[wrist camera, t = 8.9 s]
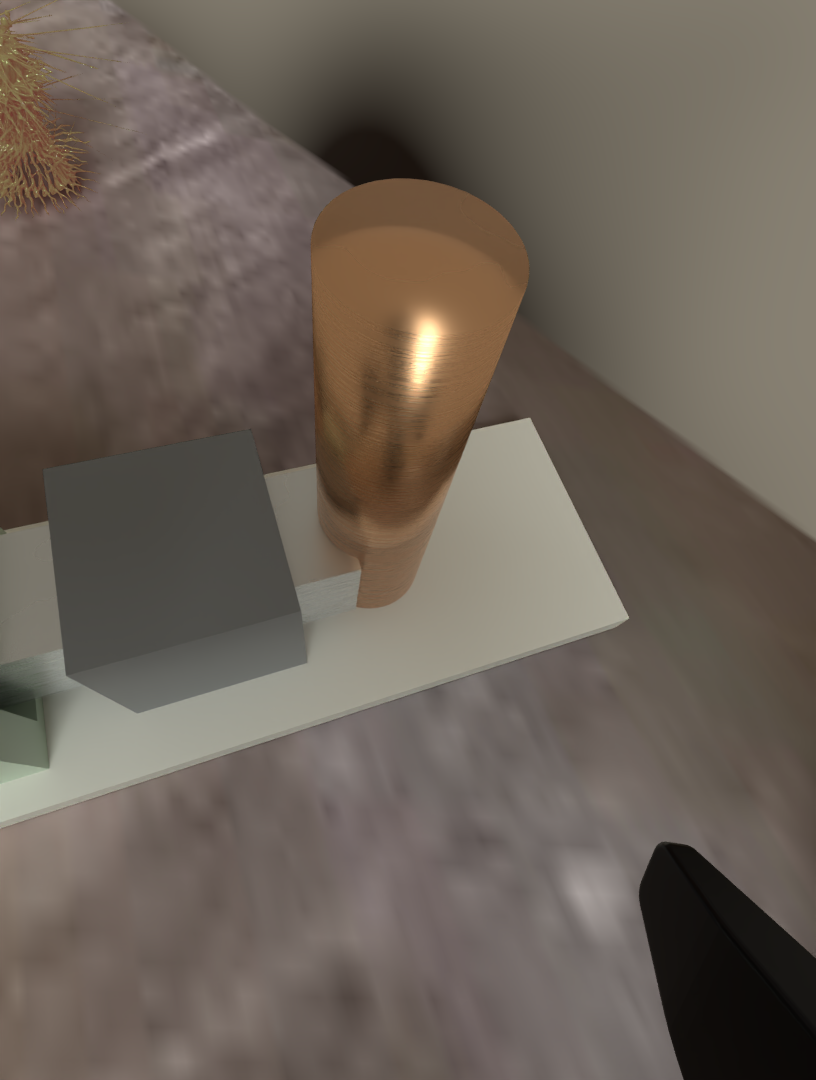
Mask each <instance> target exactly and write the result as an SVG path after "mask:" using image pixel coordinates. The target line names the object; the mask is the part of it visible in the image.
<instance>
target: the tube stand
mask: <svg viewBox="0 0 816 1080" xmlns="http://www.w3.org/2000/svg"><path fill="white" fill-rule="evenodd" d="M314 467H316V464H311V465H307V466H302V467H297V468H293V469H288V470H283V471H279V472H274V473H269V474H265V475H264V474H263V471H262V467H261V464H260V460H259V456H258V453H257V449H256V445H255V442H254V438H253V435H252V431H251V429H248V430H243V431H238V432H232V433H227V434H222V435H217V436H212V437H207V438H201V439H196V440H191V441H186V442H181V443H176V444H170V445H165V446H160V447H155V448H150V449H145V450H139V451H134V452H129V453H124V454H119V455H114V456H109V457H103V458H98V459H93V460H88V461H83V462H78V463H72V464H67V465H62V466H57V467H52V468H47V469H43V477H44V486H45V495H46V504H47V513H48V521H45V522H40V523H36V524H31V525H26V526H22V527H17V528H12V529H7V530H4V531H5V532H6V533H12V532H17V531H21V530H26V529H31V528H35V527H40V526H45V525H49V531H50V540H51V549H52V557H53V566H54V575H55V584H56V593H57V602H58V611H59V620H60V629H61V637H62V646H63V655H64V664H65V673H66V676H67V677H69V678H71V679H73V680H75V681H76V682H78V683H80V684H82V685H84V686H80V687H77V688H73V689H70V690H66V691H62V692H59V693H55V694H52V695H48V696H45V697H42V698H43V709H44V719H45V729H46V740H47V750H48V761H49V769H47V770H44V771H41V772H38V773H34V774H31V775H28V776H25V777H21V778H18V779H15V780H12V781H9V782H5V783H2V784H0V828H3V827H6V826H9V825H12V824H16V823H19V822H22V821H25V820H28V819H31V818H34V817H37V816H40V815H43V814H46V813H49V812H52V811H55V810H58V809H61V808H65V807H68V806H71V805H74V804H77V803H80V802H83V801H86V800H89V799H92V798H95V797H98V796H101V795H104V794H107V793H110V792H113V791H117V790H120V789H123V788H126V787H129V786H132V785H135V784H138V783H141V782H144V781H147V780H150V779H153V778H156V777H159V776H162V775H166V774H169V773H172V772H175V771H178V770H181V769H184V768H187V767H190V766H193V765H196V764H199V763H202V762H205V761H208V760H211V759H214V758H218V757H221V756H224V755H227V754H230V753H233V752H236V751H239V750H242V749H245V748H248V747H251V746H254V745H257V744H260V743H263V742H267V741H270V740H273V739H276V738H279V737H282V736H285V735H288V734H291V733H294V732H297V731H300V730H303V729H306V728H309V727H312V726H315V725H319V724H322V723H325V722H328V721H331V720H334V719H337V718H340V717H343V716H346V715H349V714H352V713H355V712H358V711H361V710H364V709H367V708H371V707H374V706H377V705H380V704H383V703H386V702H389V701H392V700H395V699H398V698H401V697H404V696H407V695H410V694H413V693H416V692H420V691H423V690H426V689H429V688H432V687H435V686H438V685H441V684H444V683H447V682H450V681H453V680H456V679H459V678H462V677H465V676H468V675H472V674H475V673H478V672H481V671H484V670H487V669H490V668H493V667H496V666H499V665H502V664H505V663H508V662H511V661H514V660H517V659H521V658H524V657H527V656H530V655H533V654H536V653H539V652H542V651H545V650H548V649H551V648H554V647H557V646H560V645H563V644H566V643H569V642H573V641H576V640H579V639H582V638H585V637H588V636H591V635H594V634H597V633H600V632H603V631H606V630H609V629H612V628H615V627H616V626H618V625H620V624H621V623H623V622H624V621H626V620H627V619H629V617H628V615H627V613H626V611H625V609H624V607H623V605H622V603H621V601H620V599H619V597H618V595H617V592H616V590H615V588H614V586H613V584H612V582H611V580H610V578H609V576H608V574H607V572H606V570H605V568H604V566H603V564H602V562H601V560H600V558H599V556H598V554H597V552H596V550H595V548H594V546H593V544H592V542H591V540H590V538H589V536H588V534H587V532H586V530H585V528H584V526H583V524H582V522H581V520H580V518H579V516H578V514H577V512H576V510H575V508H574V506H573V504H572V502H571V500H570V498H569V496H568V494H567V491H566V489H565V487H564V485H563V483H562V481H561V479H560V477H559V475H558V473H557V471H556V469H555V467H554V465H553V463H552V461H551V459H550V457H549V455H548V453H547V451H546V449H545V447H544V445H543V443H542V441H541V439H540V437H539V435H538V433H537V431H536V429H535V427H534V425H533V423H532V421H531V419H530V418H526V419H522V420H517V421H512V422H508V423H503V424H498V425H494V426H489V427H484V428H480V429H475V430H472V431H471V433H470V436H469V438H468V441H467V444H466V446H465V449H464V451H463V454H462V457H461V459H460V462H459V464H458V467H457V470H456V472H455V475H454V477H453V480H452V483H451V485H450V488H449V490H448V493H447V496H446V498H445V501H444V503H443V506H442V509H441V511H440V514H439V516H438V519H437V522H436V524H435V527H434V529H433V532H432V535H431V537H430V540H429V542H428V545H427V548H426V550H425V553H424V556H423V558H422V561H421V563H420V566H419V569H418V571H417V574H416V576H415V579H414V581H413V583H412V585H411V587H410V588H409V590H408V591H407V592H406V593H405V594H404V595H403V596H402V597H401V598H400V599H398V600H397V601H395V602H393V603H391V604H389V605H386V606H384V607H379V608H359V607H356V609H354V610H350V611H347V612H343V613H340V614H336V615H333V616H329V617H325V618H322V619H318V620H315V621H311V622H308V623H304V624H303V622H302V613H301V608H300V605H299V601H298V598H297V594H296V590H295V587H294V583H293V579H292V576H291V572H290V569H289V565H288V561H287V558H286V554H285V550H284V547H283V543H282V540H281V536H280V532H279V529H278V525H277V521H276V518H275V514H274V511H273V507H272V503H271V500H270V496H269V493H268V489H267V485H266V482H265V478H267V477H272V476H277V475H281V474H286V473H291V472H295V471H300V470H304V469H309V468H314Z"/></svg>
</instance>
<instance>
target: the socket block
mask: <svg viewBox="0 0 816 1080" xmlns="http://www.w3.org/2000/svg"><path fill="white" fill-rule="evenodd" d="M3 534H7V533H6V532H5V531H4V530H3V529H2V528H1V527H0V535H3ZM47 769H49V761H48V750H47V740H46V729H45V719H44V709H43V698H42V697H41V698H38V699H34V700H31V701H27V702H23V703H20V704H16V705H13V706H9V707H6V708H2V709H0V784H2V783H5V782H9V781H12V780H15V779H18V778H21V777H25V776H28V775H31V774H34V773H38V772H41V771H44V770H47Z"/></svg>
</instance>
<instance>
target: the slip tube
mask: <svg viewBox="0 0 816 1080" xmlns="http://www.w3.org/2000/svg"><path fill="white" fill-rule="evenodd" d="M311 274H312V315H313V356H314V396H315V437H316V467H314V468H309V469H304V470H300V471H295V472H291V473H286V474H281V475H277V476H272V477H267V478H265V482H266V485H267V489H268V493H269V496H270V500H271V503H272V507H273V511H274V514H275V518H276V521H277V525H278V529H279V532H280V536H281V540H282V543H283V547H284V550H285V554H286V558H287V561H288V565H289V569H290V572H291V576H292V579H293V583H294V587H295V590H296V594H297V598H298V601H299V605H300V608H301V613H302V622H303V624H304V623H308V622H311V621H315V620H318V619H322V618H325V617H329V616H333V615H336V614H340V613H343V612H347V611H350V610H354V609H356V607H359V608H379V607H384V606H386V605H389V604H391V603H393V602H395V601H397V600H398V599H400V598H401V597H402V596H403V595H404V594H405V593H406V592H407V591H408V590H409V588H410V587H411V585H412V583H413V581H414V579H415V576H416V574H417V571H418V569H419V566H420V563H421V561H422V558H423V556H424V553H425V550H426V548H427V545H428V542H429V540H430V537H431V535H432V532H433V529H434V527H435V524H436V522H437V519H438V516H439V514H440V511H441V509H442V506H443V503H444V501H445V498H446V496H447V493H448V490H449V488H450V485H451V483H452V480H453V477H454V475H455V472H456V470H457V467H458V464H459V462H460V459H461V457H462V454H463V451H464V449H465V446H466V444H467V441H468V438H469V436H470V433H471V431H472V428H473V425H474V423H475V420H476V418H477V415H478V412H479V410H480V407H481V405H482V402H483V399H484V397H485V394H486V392H487V389H488V386H489V384H490V381H491V379H492V376H493V373H494V371H495V368H496V366H497V363H498V360H499V358H500V355H501V353H502V350H503V347H504V345H505V342H506V340H507V337H508V334H509V332H510V329H511V326H512V324H513V321H514V319H515V316H516V313H517V311H518V308H519V306H520V303H521V300H522V298H523V295H524V293H525V290H526V287H527V283H528V279H529V260H528V255H527V252H526V249H525V246H524V244H523V242H522V240H521V238H520V237H519V235H518V233H517V232H516V231H515V229H514V228H513V227H512V225H511V224H510V223H509V222H508V221H507V220H506V219H505V218H504V217H503V216H502V215H501V214H500V213H499V212H497V211H496V210H495V209H494V208H492V207H491V206H490V205H488V204H487V203H485V202H483V201H482V200H480V199H479V198H476V197H475V196H473V195H471V194H469V193H467V192H464V191H462V190H459V189H457V188H454V187H451V186H448V185H444V184H441V183H436V182H432V181H426V180H418V179H386V180H379V181H374V182H369V183H366V184H362V185H360V186H357V187H354V188H352V189H350V190H348V191H346V192H344V193H342V194H341V195H339V196H338V197H336V198H335V199H333V200H332V201H331V202H330V203H329V204H328V205H327V206H326V207H325V208H324V209H323V211H322V212H321V213H320V215H319V216H318V218H317V220H316V222H315V224H314V228H313V231H312V236H311ZM80 686H84V685H82V684H80V683H78V682H76V681H75V680H73V679H71V678H69V677H67V676H66V673H65V664H64V655H63V646H62V637H61V629H60V620H59V611H58V602H57V593H56V584H55V575H54V566H53V557H52V549H51V540H50V531H49V525H45V526H40V527H35V528H31V529H26V530H21V531H17V532H12V533H7V534H3V535H0V709H2V708H6V707H9V706H13V705H16V704H20V703H23V702H27V701H31V700H34V699H38V698H41V697H45V696H48V695H52V694H55V693H59V692H62V691H66V690H70V689H73V688H77V687H80Z"/></svg>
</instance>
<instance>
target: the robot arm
mask: <svg viewBox="0 0 816 1080" xmlns="http://www.w3.org/2000/svg"><path fill="white" fill-rule="evenodd" d="M639 901H640V907H641V911H642V916H643V920H644V925H645V929H646V934H647V938H648V943H649V947H650V952H651V956H652V961H653V965H654V970H655V974H656V979H657V983H658V988H659V992H660V997H661V1001H662V1006H663V1010H664V1014H665V1018H666V1022H667V1026H668V1030H669V1034H670V1037H671V1040H672V1044H673V1047H674V1051H675V1054H676V1057H677V1060H678V1063H679V1067H680V1070H681V1073H682V1076H683V1079H684V1080H816V958H815V957H814V956H813V955H811V954H810V953H809V952H808V951H807V950H806V949H805V948H804V947H803V946H801V945H800V944H799V943H798V942H797V941H796V940H795V939H794V938H793V937H792V936H790V935H789V934H788V933H787V932H786V931H785V930H784V929H783V928H782V927H780V926H779V925H778V924H777V923H776V922H775V921H774V920H773V919H772V918H770V917H769V916H768V915H767V914H766V913H765V912H764V911H763V910H762V909H760V908H759V907H758V906H757V905H756V904H755V903H754V902H753V901H752V900H750V899H749V898H748V897H747V896H746V895H745V894H744V893H743V892H742V891H741V890H739V889H738V888H737V887H736V886H735V885H734V884H733V883H732V882H731V881H729V880H728V879H727V878H726V877H725V876H724V875H723V874H722V873H721V872H719V871H718V870H717V869H716V868H715V867H714V866H713V865H712V864H711V863H709V862H708V861H707V860H706V859H705V858H704V857H703V856H702V855H701V854H700V853H698V852H697V851H696V850H695V849H694V848H692V847H691V846H688V845H685V844H678V843H671V842H661V843H659V844H658V845H657V846H656V848H655V850H654V852H653V854H652V857H651V859H650V862H649V864H648V866H647V869H646V871H645V874H644V876H643V878H642V881H641V884H640V889H639Z"/></svg>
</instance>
